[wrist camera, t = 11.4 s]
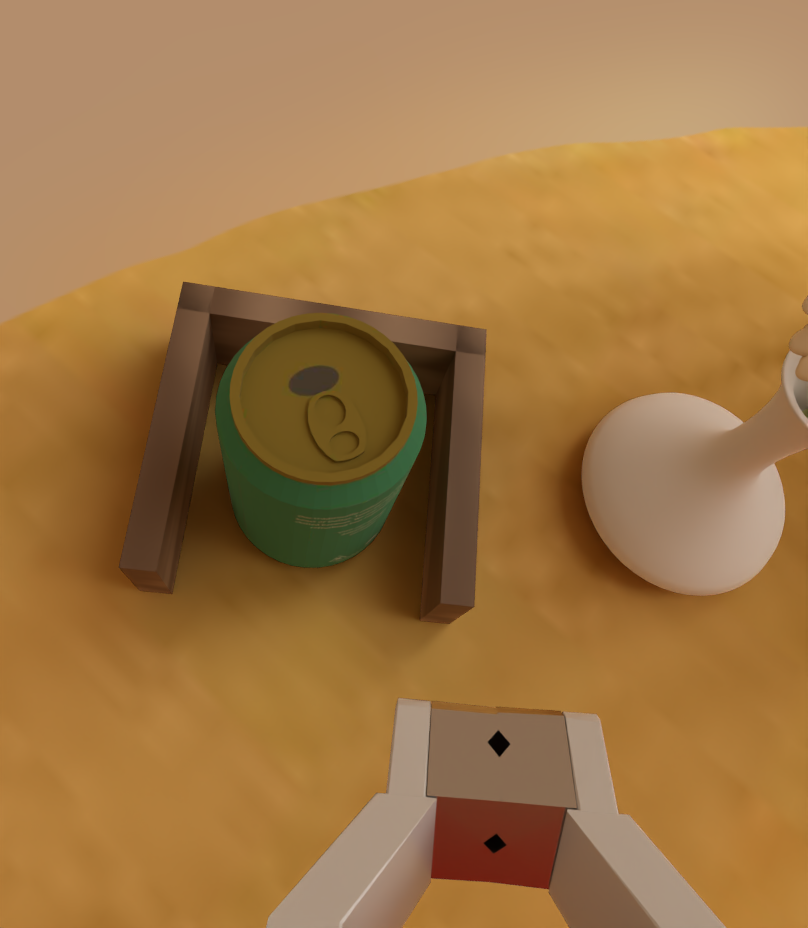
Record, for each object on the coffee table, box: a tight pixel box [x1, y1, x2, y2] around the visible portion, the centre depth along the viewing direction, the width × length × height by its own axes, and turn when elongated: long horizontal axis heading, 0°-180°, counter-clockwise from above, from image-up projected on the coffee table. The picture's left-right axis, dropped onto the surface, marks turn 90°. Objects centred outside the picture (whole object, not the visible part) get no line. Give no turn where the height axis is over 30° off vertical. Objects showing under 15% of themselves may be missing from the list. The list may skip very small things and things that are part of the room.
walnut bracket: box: [119, 282, 486, 624], centre depth 36 cm, size 15×14×5 cm
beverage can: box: [215, 313, 427, 568], centre depth 32 cm, size 8×8×12 cm
